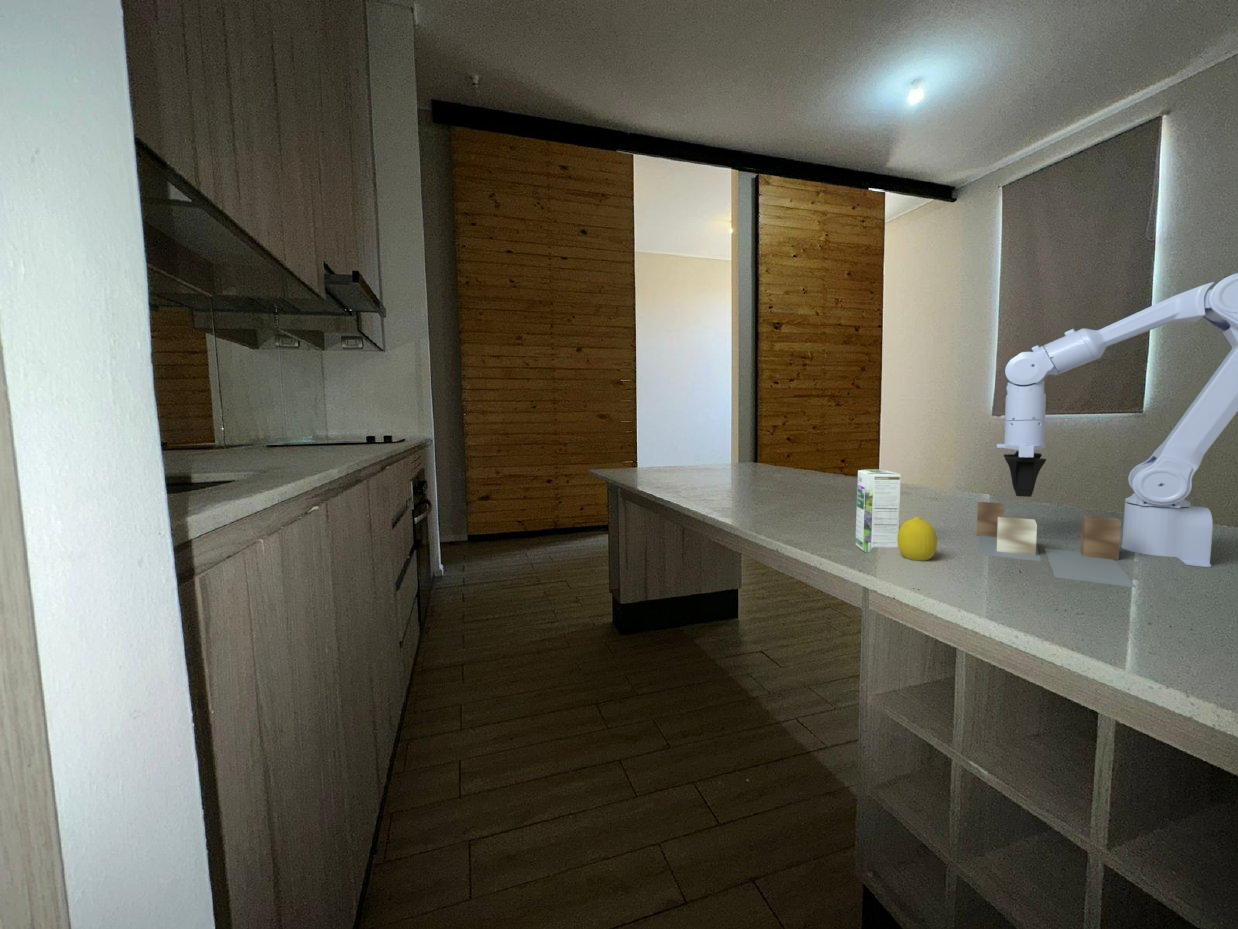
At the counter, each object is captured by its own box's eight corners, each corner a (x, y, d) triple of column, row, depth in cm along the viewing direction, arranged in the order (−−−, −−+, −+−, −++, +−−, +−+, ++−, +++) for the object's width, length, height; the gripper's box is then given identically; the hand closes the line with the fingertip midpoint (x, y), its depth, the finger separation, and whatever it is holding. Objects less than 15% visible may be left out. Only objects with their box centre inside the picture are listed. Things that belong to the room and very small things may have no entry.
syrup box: (854, 545, 94) (855, 469, 92) (887, 545, 93) (889, 468, 92) (864, 553, 88) (866, 472, 87) (900, 553, 87) (902, 472, 86)
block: (1033, 548, 84) (1034, 519, 84) (1035, 555, 80) (1037, 525, 80) (996, 544, 87) (997, 516, 87) (996, 551, 83) (998, 521, 83)
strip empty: (1114, 561, 79) (1117, 518, 78) (1141, 595, 65) (1144, 542, 64) (1044, 554, 84) (1046, 513, 83) (1054, 583, 70) (1057, 535, 69)
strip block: (1033, 542, 91) (1035, 505, 91) (1040, 567, 77) (1043, 523, 76) (976, 537, 97) (978, 501, 96) (973, 559, 82) (975, 517, 82)
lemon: (944, 569, 78) (945, 519, 77) (908, 570, 78) (909, 520, 77) (923, 559, 83) (924, 513, 83) (890, 560, 84) (891, 513, 83)
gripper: (996, 420, 99) (994, 487, 100) (998, 421, 87) (995, 497, 88) (1042, 419, 95) (1040, 489, 96) (1050, 420, 83) (1047, 500, 84)
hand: (1022, 493), depth 92 cm, fingers open, 7 cm apart
